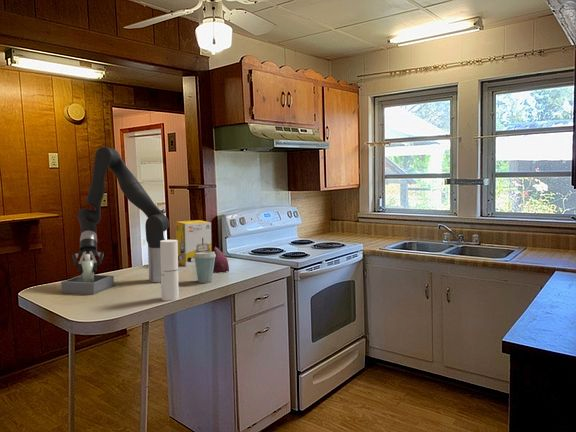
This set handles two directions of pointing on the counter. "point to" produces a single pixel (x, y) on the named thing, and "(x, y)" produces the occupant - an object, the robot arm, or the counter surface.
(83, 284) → the bin
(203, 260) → the disposable coffee cup
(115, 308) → the counter surface
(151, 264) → the robot arm
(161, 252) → the cylindrical container
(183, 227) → the packaging box
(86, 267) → the cruet
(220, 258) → the vegetable
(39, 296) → the counter surface
